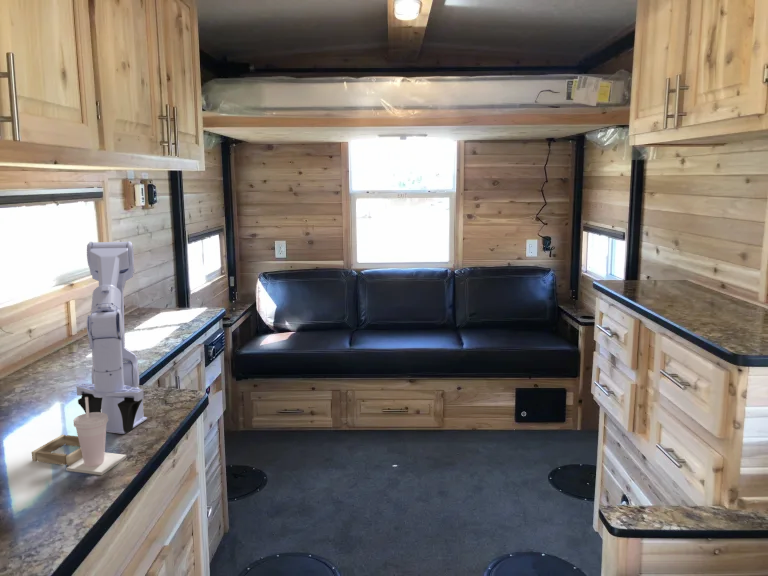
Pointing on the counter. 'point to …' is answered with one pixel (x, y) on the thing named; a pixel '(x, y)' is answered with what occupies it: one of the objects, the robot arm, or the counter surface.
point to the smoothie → (91, 435)
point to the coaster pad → (108, 463)
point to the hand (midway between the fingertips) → (112, 429)
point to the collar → (47, 456)
